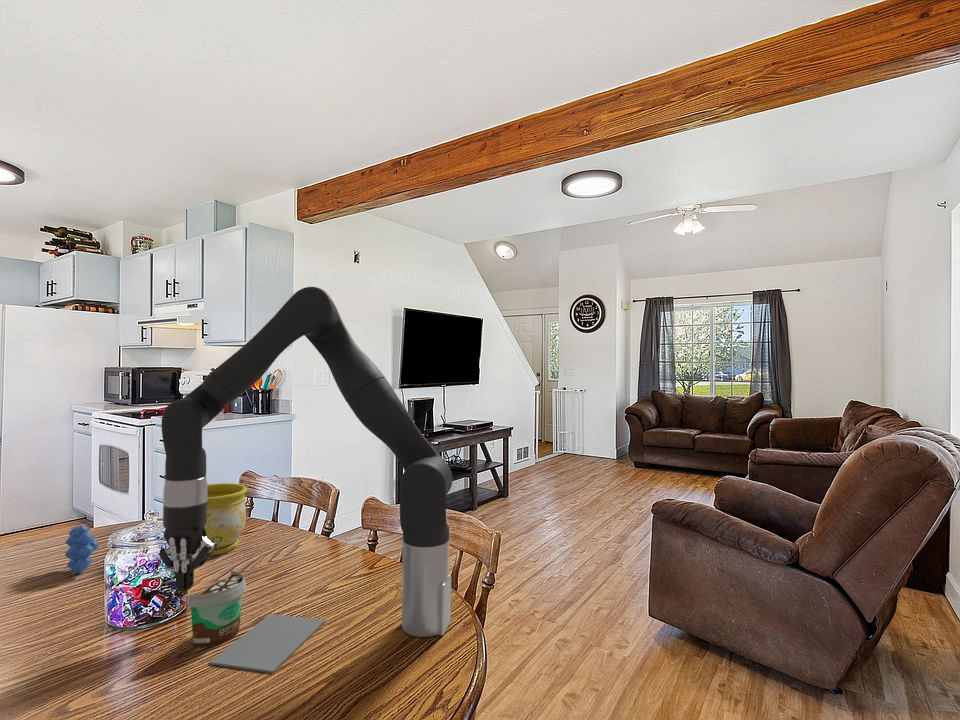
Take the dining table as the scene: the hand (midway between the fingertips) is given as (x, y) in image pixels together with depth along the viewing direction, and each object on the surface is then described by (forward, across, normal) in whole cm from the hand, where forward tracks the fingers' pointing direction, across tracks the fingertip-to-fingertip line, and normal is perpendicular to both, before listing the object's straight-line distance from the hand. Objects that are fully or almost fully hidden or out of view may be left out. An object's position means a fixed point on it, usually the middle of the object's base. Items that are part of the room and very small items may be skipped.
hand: (184, 589), depth 102 cm
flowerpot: (+8, +26, -40) cm, 48 cm away
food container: (+8, -9, 0) cm, 12 cm away
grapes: (+8, +45, -19) cm, 49 cm away
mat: (+8, -19, 0) cm, 20 cm away
